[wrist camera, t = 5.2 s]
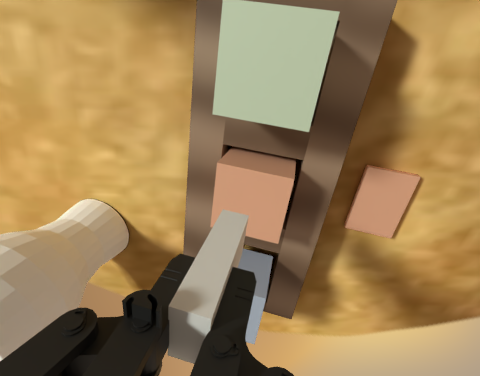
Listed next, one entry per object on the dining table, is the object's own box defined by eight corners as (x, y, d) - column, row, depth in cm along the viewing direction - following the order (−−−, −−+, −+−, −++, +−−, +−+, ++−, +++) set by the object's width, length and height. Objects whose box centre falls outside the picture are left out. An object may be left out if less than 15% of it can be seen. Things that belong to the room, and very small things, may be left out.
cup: (148, 211, 29) (11, 333, 15) (132, 275, 33) (18, 409, 20) (64, 172, 29) (-141, 256, 16) (60, 240, 34) (-99, 349, 20)
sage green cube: (244, 18, 17) (222, -3, 12) (329, 29, 16) (339, 11, 11) (233, 104, 19) (212, 114, 14) (307, 117, 18) (308, 132, 14)
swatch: (366, 164, 21) (368, 166, 21) (417, 174, 21) (420, 177, 20) (344, 224, 24) (345, 227, 23) (389, 234, 23) (391, 238, 23)
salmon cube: (234, 144, 22) (216, 162, 18) (296, 157, 22) (294, 179, 17) (227, 199, 25) (210, 227, 20) (282, 212, 24) (278, 244, 19)
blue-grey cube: (217, 241, 24) (197, 279, 20) (273, 256, 24) (266, 298, 19) (211, 283, 27) (193, 325, 22) (262, 297, 26) (254, 344, 21)
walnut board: (213, -8, 19) (198, -22, 16) (382, 11, 17) (397, 0, 15) (192, 268, 31) (181, 287, 28) (292, 296, 29) (291, 319, 26)
